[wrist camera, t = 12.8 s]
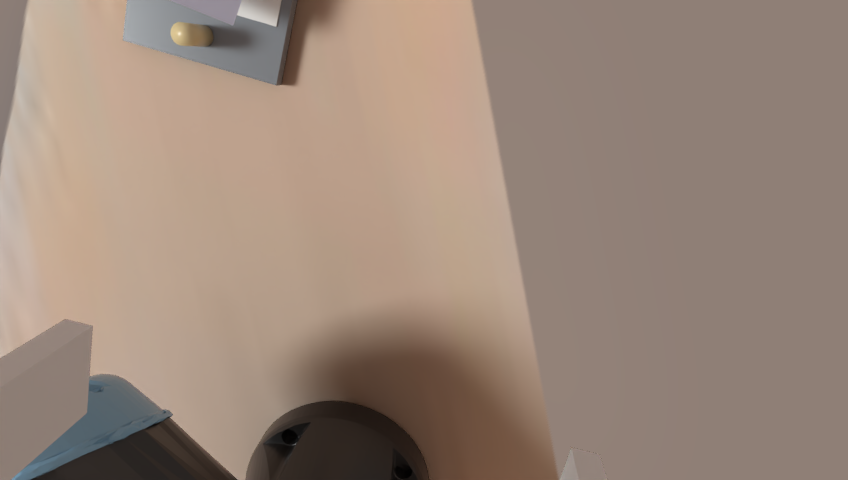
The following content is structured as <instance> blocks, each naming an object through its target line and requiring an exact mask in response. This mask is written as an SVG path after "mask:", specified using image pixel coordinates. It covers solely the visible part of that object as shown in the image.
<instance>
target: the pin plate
mask: <svg viewBox="0 0 848 480" xmlns="http://www.w3.org/2000/svg"><path fill="white" fill-rule="evenodd" d="M296 5H297V0H242V1H241V4H240V7H239V10H238V13H237V16H236V19H235V22H234V25H230V24H228V23H225V22H223V21H220V20H218V19H215V18H213V17H210V16H208V15H205V14H203V13H200V12H198V11H195V10H193V9H190V8H188V7H185V6H183V5H180V4H178V3H175V2H173V1H171V0H127V6H126V16H125V25H124V35H123V40H124V41H127V42H130V43H134V44H137V45H141V46H144V47H147V48H151V49H154V50H158V51H161V52H165V53H168V54H171V55H175V56H178V57H182V58H185V59H188V60H192V61H195V62H199V63H202V64H205V65H209V66H212V67H216V68H219V69H222V70H226V71H229V72H233V73H236V74H239V75H243V76H246V77H250V78H253V79H256V80H260V81H263V82H267V83H270V84H274V85H281V83H282V78H283V72H284V67H285V62H286V57H287V51H288V46H289V41H290V36H291V31H292V25H293V20H294V15H295V10H296Z"/></svg>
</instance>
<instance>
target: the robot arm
mask: <svg viewBox="0 0 848 480" xmlns="http://www.w3.org/2000/svg"><path fill="white" fill-rule="evenodd" d="M92 330H93V326H91V325H87V324H83V323H79V322H75V321H71V320H67V319H65V320H63V321H61V322H60V323H58V324H56V325H55V326H53V327H51V328H50V329H48V330H46V331H45V332H43V333H41V334H40V335H38V336H37V337H35V338H33V339H32V340H30V341H28V342H27V343H25V344H23V345H22V346H20V347H18V348H17V349H15V350H13V351H12V352H10V353H8V354H7V355H5V356H3V357H2V358H0V480H237V479H236V478H235V477H234V476H233V475H232V474H231V473H230V472H228V471H227V470H226V469H225V468H224V467H223V466H222V465H221V464H220V463H219V462H217V461H216V460H215V459H214V458H213V457H212V456H211V455H210V454H209V453H208V452H207V451H205V450H204V449H203V448H202V447H201V446H200V445H199V444H198V443H197V442H196V441H194V440H193V439H192V438H191V437H190V436H189V435H188V434H187V433H186V432H185V431H184V430H183V429H182V428H180V427H179V426H178V425H177V424H176V423H175V422H174V421H173V420H172V419H171V418H170V417H171V416H172V415H173V414H172V413H171V412H170V411H169V410H162V409H161V408H160V407H159V406H157V405H156V404H155V403H154V402H152V401H151V400H150V399H149V398H148V397H146V396H145V395H144V394H143V393H142V392H140V391H139V390H138V389H137V388H135V387H134V386H133V385H132V384H131V383H129V382H128V381H127V380H125V379H123V378H121V377H119V376H115V375H110V374H99V375H94V376H91V377H89V375H90V360H91V345H92ZM246 480H429V477H428V471H427V467H426V464H425V461H424V459H423V456H422V454H421V452H420V451H419V449H418V447H417V446H416V444H415V443H414V442H413V440H412V439H411V438H410V437H409V435H408V434H407V433H406V432H405V431H404V430H403V429H402V428H400V427H399V426H398V425H397V424H396V423H394V422H393V421H391V420H390V419H388V418H387V417H385V416H383V415H382V414H380V413H378V412H376V411H374V410H371V409H369V408H366V407H363V406H360V405H356V404H351V403H345V402H317V403H312V404H307V405H304V406H301V407H298V408H296V409H293V410H291V411H289V412H288V413H286V414H284V415H283V416H281V417H280V418H279V419H277V420H276V421H275V422H274V423H273V424H272V425H271V426H270V427H269V428H268V430H267V431H266V432H265V434H264V436H263V437H262V439H261V441H260V442H259V444H258V446H257V447H256V449H255V451H254V453H253V455H252V457H251V459H250V462H249V465H248V469H247V473H246ZM560 480H608V479H607V477H606V473H605V470H604V467H603V463H602V460H601V457H600V455H599V454H596V453H592V452H588V451H584V450H580V449H576V448H573V447H571V449H570V452H569V455H568V458H567V461H566V463H565V466H564V469H563V472H562V475H561V477H560Z"/></svg>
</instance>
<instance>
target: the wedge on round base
mask: <svg viewBox="0 0 848 480" xmlns="http://www.w3.org/2000/svg"><path fill="white" fill-rule="evenodd" d="M171 1H173V2H175V3H178V4H180V5H183V6H185V7H188V8H190V9H193V10H195V11H198V12H200V13H203V14H205V15H208V16H210V17H213V18H215V19H218V20H220V21H223V22H225V23H228V24H230V25H234V22H235V19H236V16H237V13H238V10H239V7H240V4H241V1H242V0H171Z"/></svg>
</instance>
